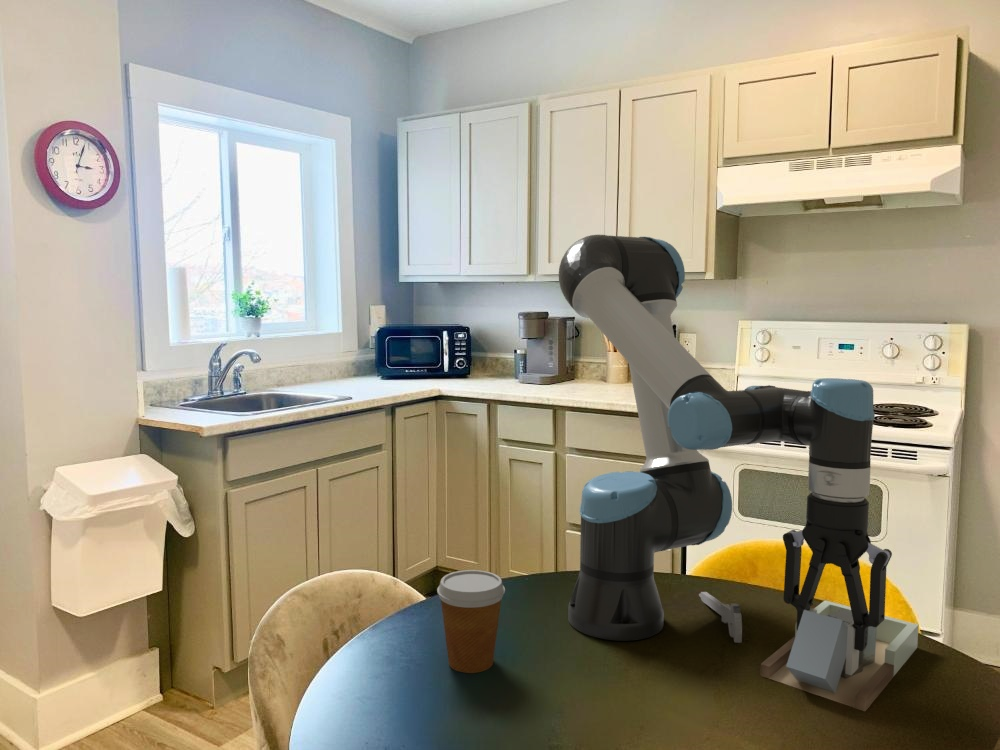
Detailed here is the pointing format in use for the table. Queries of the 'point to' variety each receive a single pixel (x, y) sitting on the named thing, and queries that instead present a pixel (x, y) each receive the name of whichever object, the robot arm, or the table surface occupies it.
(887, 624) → the tray
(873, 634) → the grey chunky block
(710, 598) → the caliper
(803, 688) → the slot board
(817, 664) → the grey block
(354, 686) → the table surface
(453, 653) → the disposable coffee cup
